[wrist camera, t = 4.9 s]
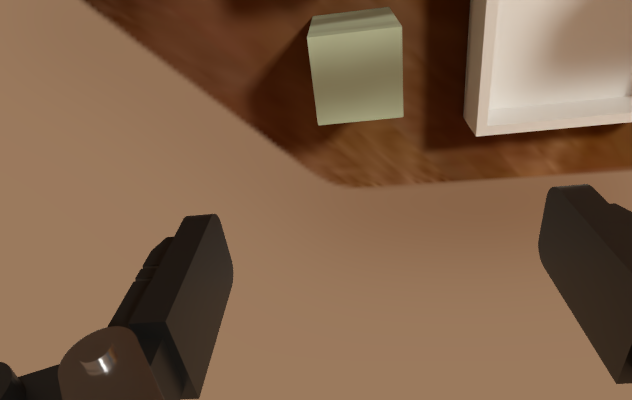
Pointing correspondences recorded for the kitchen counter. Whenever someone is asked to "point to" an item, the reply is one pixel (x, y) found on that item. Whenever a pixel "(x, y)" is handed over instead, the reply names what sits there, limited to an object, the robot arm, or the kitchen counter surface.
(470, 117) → the tray
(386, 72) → the sage block
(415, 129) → the kitchen counter surface
